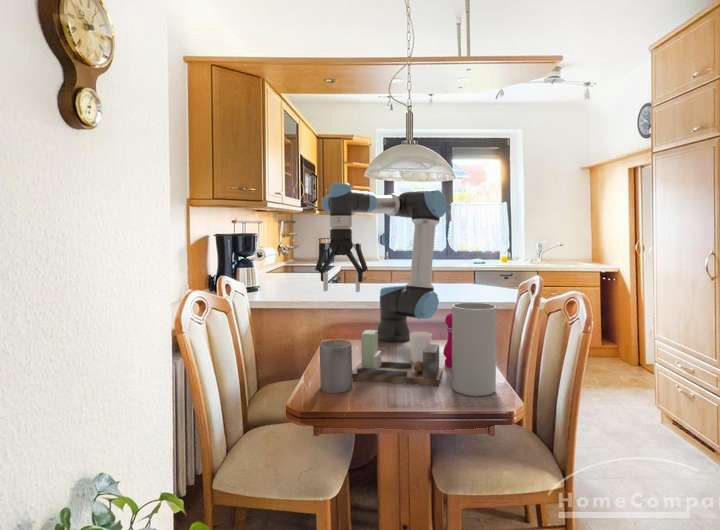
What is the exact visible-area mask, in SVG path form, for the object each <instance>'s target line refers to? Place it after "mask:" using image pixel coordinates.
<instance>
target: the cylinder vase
mask: <svg viewBox="0 0 720 530" xmlns="http://www.w3.org/2000/svg"><path fill="white" fill-rule="evenodd" d="M451 310H452V312H451V313H452V367H451V387H452V389H453V391H455V392H456V393H458V394H460V395H464V396H470V397H486V396H489V395H493V393H495V391H496V386H497V383H496V382H497V380H496V379H497V378H496V377H497V376H496V375H497V373H496V372H497V368H496V367H497V306H496V305H494V304H490V303H485V302H459V303H454V304H452V308H451Z"/></svg>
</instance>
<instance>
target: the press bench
mask: <svg viewBox="0 0 720 530" xmlns="http://www.w3.org/2000/svg"><path fill="white" fill-rule="evenodd" d="M412 365H413V366H412ZM443 372H444V370H443V367H441V368H440V345H439V344H432V343H431V344H427V345H426V347H425V349H424V351H423V362H421V361H417V362H415V363H414V364H413V362H407V361H405V362H403V361H391V360H381V367H380V368H379V369H373V368H362V362H360V363H358V365H357V366H356V367H355V368H354V369H352V379H354V380H353V381H362V380H366V381H365V382H375V381H381V382H380V383H389V382H395V383H394V384H402V383H406V384H405V385H415V384H419V385H418V386H429V385H433V386H432V387H440V385H439V384H440V383H441V381H442V377H443V375H442V374H443ZM367 380H368V381H367Z"/></svg>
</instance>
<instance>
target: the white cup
mask: <svg viewBox="0 0 720 530" xmlns="http://www.w3.org/2000/svg"><path fill="white" fill-rule="evenodd" d="M432 335H433V334H432V333H431V332H427V331H413V332H411V333H410V339H409V349H410V361H411V363H413V362H414V364H415V362H417V361H421V362H423V351H424V349H425V347H426V345H427V344H432Z"/></svg>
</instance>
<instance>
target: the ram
mask: <svg viewBox="0 0 720 530" xmlns="http://www.w3.org/2000/svg"><path fill="white" fill-rule="evenodd" d="M360 338H361V343H360V344H361V346H360V347H361V363H362V368H373V369H379V368H380V367H381V361H382V351H381V350H379V339H378V329H377V330H376V329H375V330H374V329H365V330H364V331H363V332H362V333H361V335H360Z"/></svg>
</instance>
